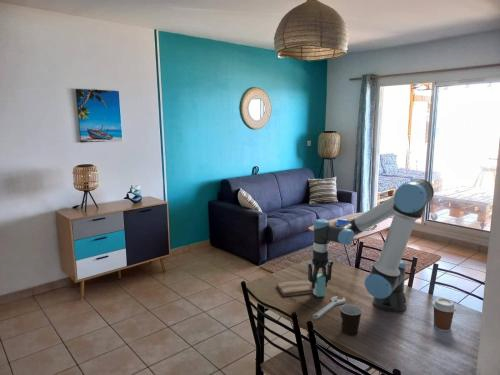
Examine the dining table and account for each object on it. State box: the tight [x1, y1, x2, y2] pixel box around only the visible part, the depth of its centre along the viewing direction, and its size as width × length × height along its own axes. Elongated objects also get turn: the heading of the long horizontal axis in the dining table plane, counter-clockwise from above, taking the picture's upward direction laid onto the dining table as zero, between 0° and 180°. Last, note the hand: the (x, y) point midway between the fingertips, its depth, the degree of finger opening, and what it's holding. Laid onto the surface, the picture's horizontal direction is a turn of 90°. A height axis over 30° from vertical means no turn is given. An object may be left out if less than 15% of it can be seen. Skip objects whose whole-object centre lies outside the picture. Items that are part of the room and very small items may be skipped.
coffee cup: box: [431, 297, 457, 332], centre depth 156 cm, size 9×9×12 cm
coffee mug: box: [339, 304, 363, 337], centre depth 155 cm, size 12×9×10 cm
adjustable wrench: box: [312, 295, 346, 320], centre depth 174 cm, size 25×6×2 cm, turn 133°
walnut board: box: [276, 278, 313, 297], centre depth 193 cm, size 12×18×2 cm, turn 104°
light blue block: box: [315, 272, 326, 298], centre depth 188 cm, size 11×4×10 cm, turn 13°
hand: (319, 293), depth 186 cm, fingers closed on light blue block, 4 cm apart
